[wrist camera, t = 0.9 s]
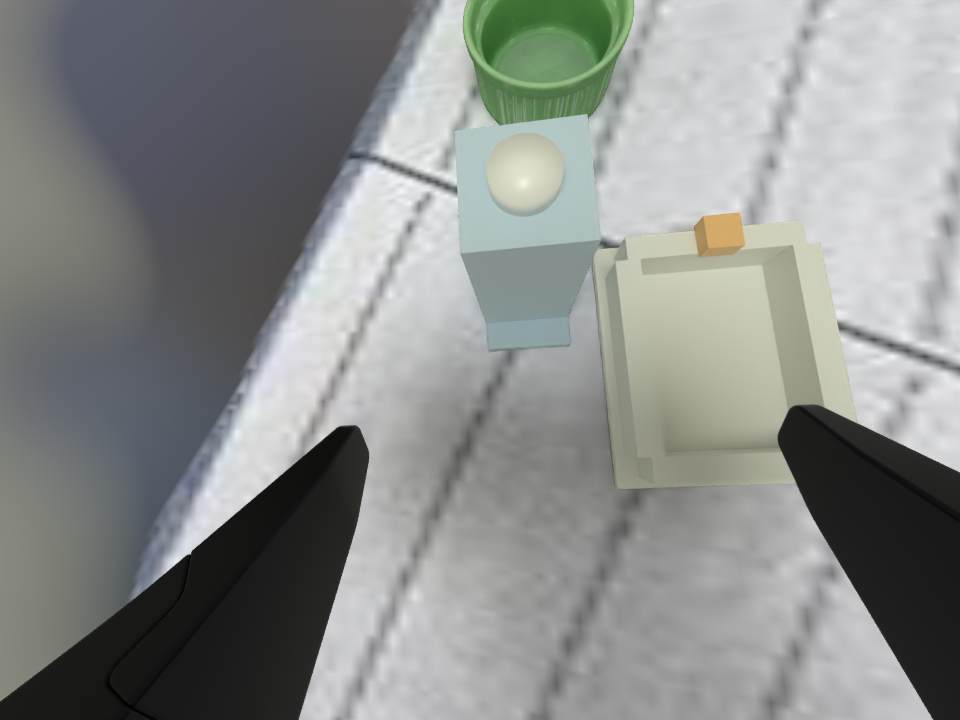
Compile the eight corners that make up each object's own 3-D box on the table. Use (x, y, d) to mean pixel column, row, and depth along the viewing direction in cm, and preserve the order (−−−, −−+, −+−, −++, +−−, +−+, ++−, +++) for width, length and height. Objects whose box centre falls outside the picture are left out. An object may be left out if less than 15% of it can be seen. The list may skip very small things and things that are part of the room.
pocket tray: (829, 479, 19) (907, 494, 15) (615, 487, 20) (637, 503, 16) (783, 236, 21) (841, 195, 17) (591, 254, 22) (605, 219, 18)
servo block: (568, 346, 22) (611, 275, 11) (489, 352, 22) (458, 289, 12) (557, 222, 23) (586, 53, 12) (482, 230, 23) (449, 73, 13)
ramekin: (578, 1, 25) (590, -85, 21) (640, 110, 24) (666, 40, 19) (452, 58, 26) (438, -16, 21) (504, 169, 24) (500, 114, 20)
